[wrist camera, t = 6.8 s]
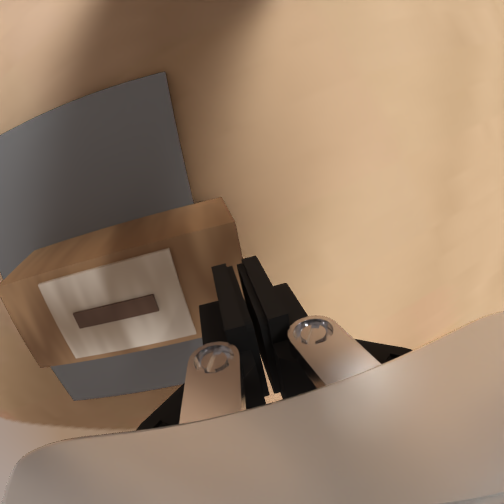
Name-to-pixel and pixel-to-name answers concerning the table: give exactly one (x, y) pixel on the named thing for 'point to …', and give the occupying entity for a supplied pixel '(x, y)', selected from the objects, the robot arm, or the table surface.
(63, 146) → the charcoal mat
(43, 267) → the cardboard box
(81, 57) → the table surface
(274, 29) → the table surface
